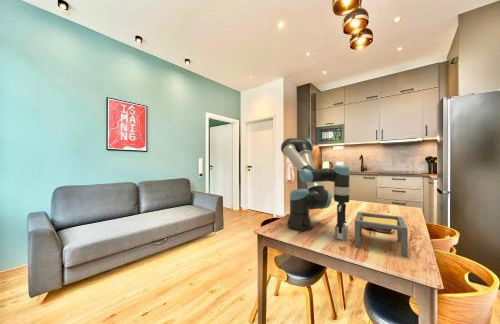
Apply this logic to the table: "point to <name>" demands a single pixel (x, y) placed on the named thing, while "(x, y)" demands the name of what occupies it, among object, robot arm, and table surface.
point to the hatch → (380, 220)
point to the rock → (377, 228)
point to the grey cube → (345, 232)
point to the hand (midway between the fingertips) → (341, 236)
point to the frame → (401, 227)
